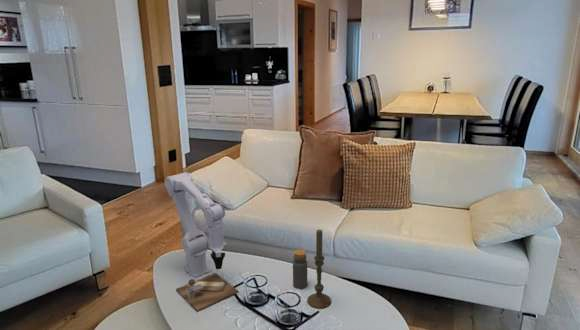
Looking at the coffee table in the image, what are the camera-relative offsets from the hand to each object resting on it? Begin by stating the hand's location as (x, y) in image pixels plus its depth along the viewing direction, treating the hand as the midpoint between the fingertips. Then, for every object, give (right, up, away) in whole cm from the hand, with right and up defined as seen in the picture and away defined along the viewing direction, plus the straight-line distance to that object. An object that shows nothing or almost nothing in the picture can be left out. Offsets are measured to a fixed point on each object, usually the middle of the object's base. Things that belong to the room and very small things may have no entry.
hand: (218, 264), depth 159 cm
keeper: (-7, -10, -8) cm, 15 cm away
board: (-4, -10, -4) cm, 11 cm away
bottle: (+34, -8, 0) cm, 35 cm away
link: (-4, -8, -4) cm, 10 cm away
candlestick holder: (+40, -11, -11) cm, 44 cm away
